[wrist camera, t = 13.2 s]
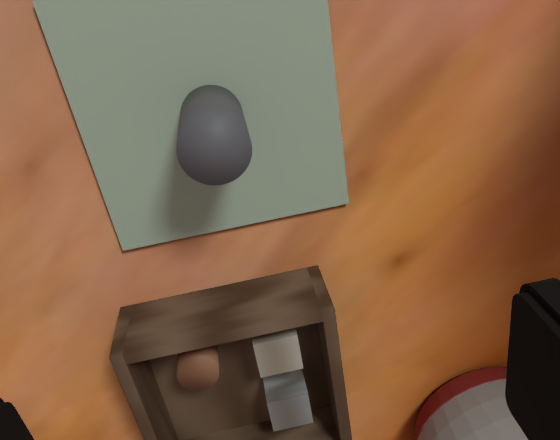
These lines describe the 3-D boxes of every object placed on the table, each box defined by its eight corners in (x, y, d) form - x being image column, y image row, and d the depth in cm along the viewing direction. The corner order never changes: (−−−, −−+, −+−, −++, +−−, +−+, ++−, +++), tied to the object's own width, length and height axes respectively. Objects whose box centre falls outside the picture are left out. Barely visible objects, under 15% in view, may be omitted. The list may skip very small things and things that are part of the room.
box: (317, 265, 36) (334, 308, 31) (338, 403, 42) (354, 455, 38) (120, 307, 35) (109, 357, 31) (172, 441, 42) (169, 498, 37)
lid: (318, -52, 27) (353, -54, 21) (345, 197, 34) (377, 249, 28) (37, -1, 26) (-11, 13, 20) (124, 243, 34) (108, 307, 27)
